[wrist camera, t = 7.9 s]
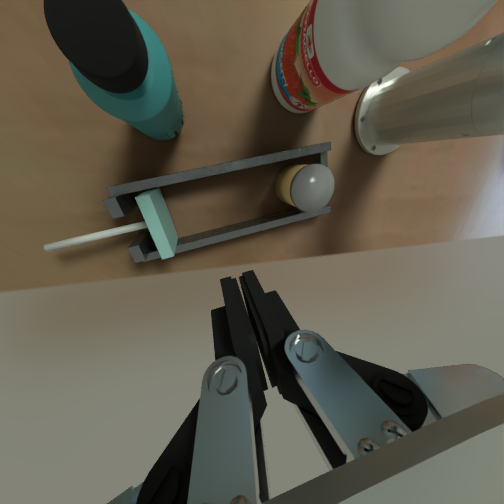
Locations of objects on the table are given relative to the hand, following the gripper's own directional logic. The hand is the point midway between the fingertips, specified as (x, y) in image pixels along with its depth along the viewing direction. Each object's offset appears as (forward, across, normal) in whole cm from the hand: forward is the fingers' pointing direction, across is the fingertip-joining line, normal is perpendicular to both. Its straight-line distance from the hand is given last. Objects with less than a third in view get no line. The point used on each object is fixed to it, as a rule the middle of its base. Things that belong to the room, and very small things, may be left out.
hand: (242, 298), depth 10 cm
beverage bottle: (+27, +4, -13) cm, 30 cm away
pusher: (+26, +15, 0) cm, 30 cm away
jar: (+27, -15, 0) cm, 30 cm away
